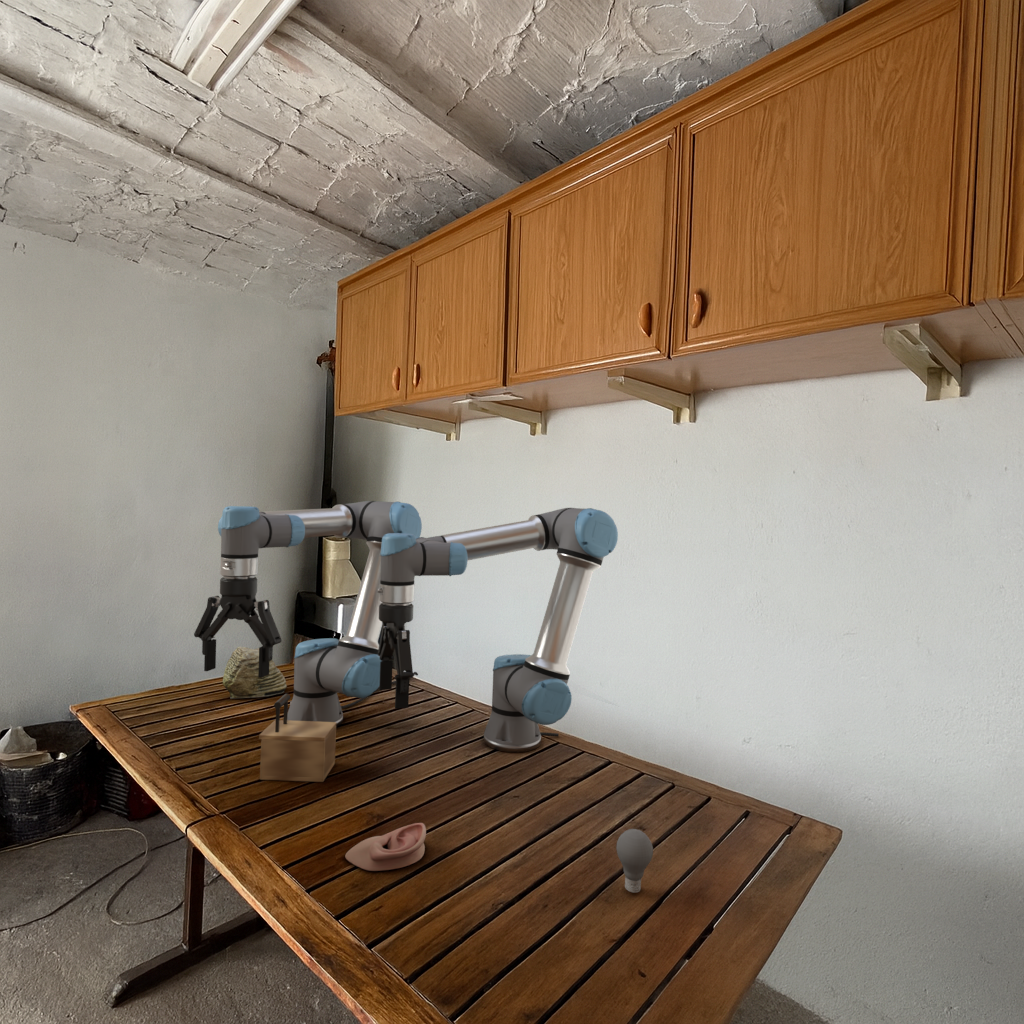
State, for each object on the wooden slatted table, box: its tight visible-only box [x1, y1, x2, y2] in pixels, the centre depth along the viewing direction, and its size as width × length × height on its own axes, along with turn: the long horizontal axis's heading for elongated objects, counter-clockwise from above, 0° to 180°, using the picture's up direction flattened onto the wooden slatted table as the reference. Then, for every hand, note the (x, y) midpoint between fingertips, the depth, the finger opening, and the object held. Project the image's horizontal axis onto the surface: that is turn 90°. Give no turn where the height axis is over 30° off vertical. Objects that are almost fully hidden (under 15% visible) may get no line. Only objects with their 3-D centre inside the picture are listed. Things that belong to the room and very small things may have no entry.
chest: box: [259, 727, 337, 783], centre depth 145 cm, size 14×10×9 cm
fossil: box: [222, 646, 288, 699], centre depth 198 cm, size 9×18×15 cm, turn 132°
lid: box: [258, 693, 337, 742], centre depth 145 cm, size 14×10×8 cm
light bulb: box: [615, 828, 654, 894], centre depth 106 cm, size 6×6×10 cm
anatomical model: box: [344, 822, 427, 872], centre depth 113 cm, size 13×4×12 cm
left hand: (236, 673), depth 139 cm, fingers open, 13 cm apart
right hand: (393, 698), depth 141 cm, fingers open, 13 cm apart
